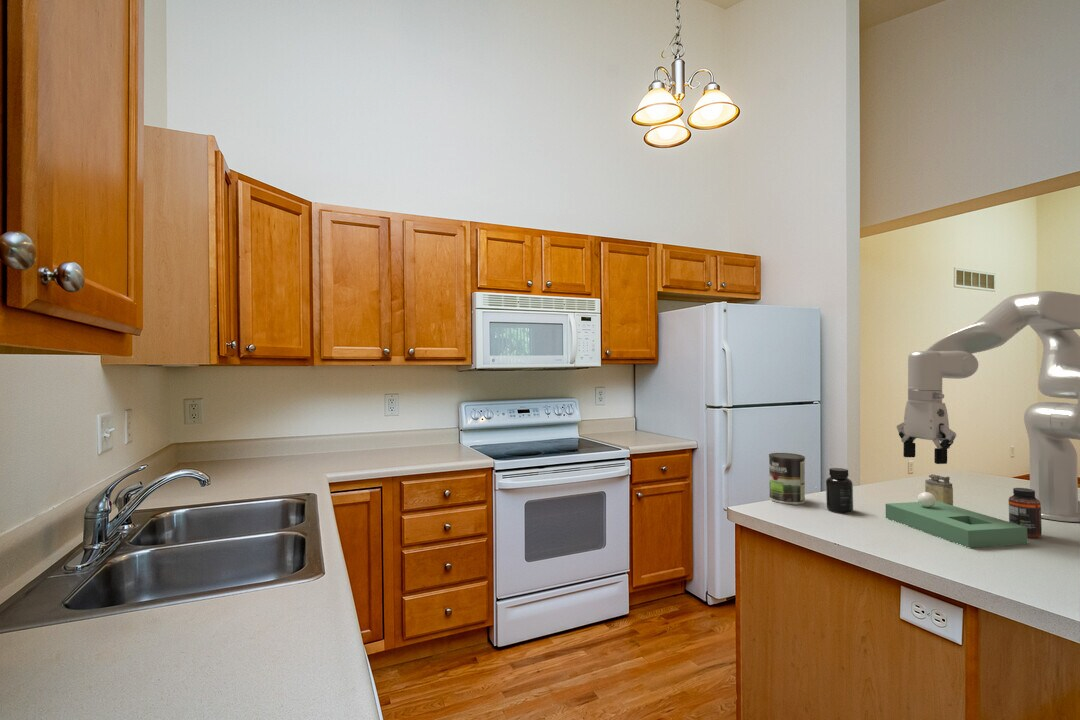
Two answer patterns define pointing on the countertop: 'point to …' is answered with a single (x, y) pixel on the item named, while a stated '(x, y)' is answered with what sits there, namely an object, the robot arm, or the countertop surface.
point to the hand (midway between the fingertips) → (924, 460)
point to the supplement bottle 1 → (839, 491)
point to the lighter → (940, 488)
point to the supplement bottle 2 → (1026, 511)
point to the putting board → (958, 524)
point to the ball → (926, 499)
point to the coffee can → (787, 478)
